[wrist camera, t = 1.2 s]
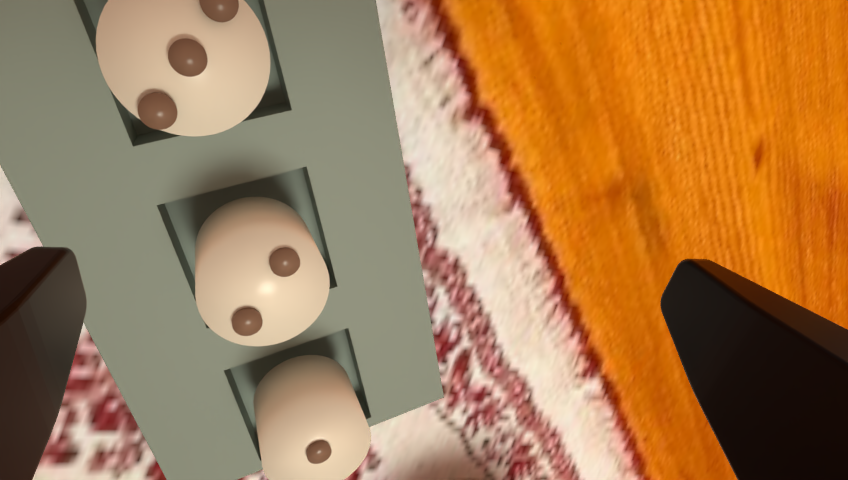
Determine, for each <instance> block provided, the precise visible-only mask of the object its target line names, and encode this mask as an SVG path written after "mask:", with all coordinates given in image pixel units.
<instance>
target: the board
mask: <svg viewBox="0 0 848 480" xmlns="http://www.w3.org/2000/svg"><path fill="white" fill-rule="evenodd" d="M244 1H245V2H246V3H247V4H248V5H249V7H250V8H251V9H252V10H253V12H254V13H255V15H256V17H257V18H258V20H259V21H260V24H261V26H262V28H263V30H264V32H265V35H266V38H267V41H268V46H269V51H270V75H269V80H268V84H267V87H266V90H265V93H264V95H263V97H262V99H261V101H260V102H259V104H258V105H257V107H256V108H255V109H254V110H253V111H252V113H251V114H250V115H249V116H248V117H247V118H245V119H244V120H243V121H242V122H240V123H239V124H237V125H235V126H234V127H232V128H230V129H228V130H225V131H223V132H220V133H217V134H213V135H207V136H181V135H176V134H171V133H168V132H165V131H162V130H157V129H152V128H150V127H148V126H146V125H145V124H144V123H143V122H142V121H141V120H140V119H139V118H137V117H136V116H135V115H133V114H132V113H131V112H130V111H128V110H127V109H126V108H125V107H124V106H123V105H122V104H121V103H120V101H119V100H118V99H117V98H116V97H115V95H114V94H113V92H112V91H111V89H110V88H109V86H108V85H107V83H106V81H105V78H104V76H103V74H102V71H101V68H100V65H99V62H98V57H97V52H96V32H97V26H98V22H99V18H100V15H101V13H102V11H103V8H104V6H105V5H106V3H107V2H108V0H0V165H1V167H2V169H3V171H4V173H5V175H6V177H7V178H8V180H9V182H10V184H11V186H12V188H13V190H14V192H15V194H16V195H17V197H18V199H19V201H20V203H21V205H22V207H23V209H24V211H25V212H26V214H27V216H28V218H29V220H30V222H31V224H32V226H33V228H34V229H35V231H36V233H37V235H38V237H39V239H40V241H41V243H42V245H43V247H67V248H69V249H71V250H72V251H73V252H74V254H75V256H76V259H77V263H78V266H79V270H80V274H81V278H82V282H83V285H84V289H85V293H86V298H87V308H86V314H85V318H84V324H85V326H86V328H87V330H88V332H89V333H90V335H91V337H92V339H93V341H94V343H95V345H96V347H97V349H98V350H99V352H100V354H101V356H102V358H103V360H104V362H105V364H106V366H107V367H108V369H109V371H110V373H111V375H112V377H113V379H114V381H115V383H116V384H117V386H118V388H119V390H120V392H121V394H122V396H123V398H124V400H125V401H126V403H127V405H128V407H129V409H130V411H131V413H132V415H133V417H134V419H135V420H136V422H137V424H138V426H139V428H140V430H141V432H142V434H143V436H144V437H145V439H146V441H147V443H148V445H149V447H150V449H151V451H152V453H153V454H154V456H155V458H156V460H157V462H158V464H159V466H160V468H161V470H162V471H163V473H164V475H165V477H166V479H167V480H237V479H240V478H242V477H245V476H247V475H250V474H252V473H255V472H257V471H260V470H262V469H263V467H262V461H261V454H260V447H259V440H258V434H257V427H256V420H255V413H254V406H253V400H254V394H255V391H256V388H257V386H258V384H259V383H260V381H261V380H262V378H263V377H264V376H265V375H266V374H267V373H268V372H269V371H270V370H271V369H272V368H274V367H275V366H277V365H278V364H280V363H282V362H284V361H286V360H288V359H291V358H294V357H297V356H303V355H320V356H325V357H328V358H330V359H333V360H334V361H336V362H338V363H339V364H340V365H341V366H342V367H343V368H344V369H345V371H346V372H347V374H348V377H349V379H350V381H351V384H352V386H353V389H354V391H355V394H356V396H357V399H358V401H359V404H360V406H361V408H362V411H363V413H364V416H365V418H366V421H367V423H368V426H369V427H371V426H373V425H376V424H378V423H381V422H383V421H386V420H388V419H391V418H393V417H396V416H398V415H401V414H403V413H406V412H408V411H411V410H413V409H416V408H418V407H421V406H423V405H426V404H428V403H431V402H433V401H436V400H439V399H441V398H444V396H443V390H442V384H441V378H440V372H439V367H438V361H437V355H436V349H435V343H434V337H433V332H432V326H431V320H430V314H429V308H428V303H427V297H426V291H425V285H424V279H423V273H422V268H421V262H420V256H419V250H418V244H417V239H416V233H415V227H414V221H413V215H412V209H411V204H410V198H409V192H408V186H407V180H406V175H405V169H404V163H403V157H402V151H401V145H400V140H399V134H398V128H397V122H396V116H395V111H394V105H393V99H392V93H391V87H390V81H389V76H388V70H387V64H386V58H385V52H384V47H383V41H382V35H381V29H380V23H379V18H378V12H377V6H376V0H244ZM245 197H266V198H271V199H275V200H278V201H280V202H282V203H285V204H286V205H288V206H290V207H291V208H292V209H294V210H295V211H296V212H297V213H298V214H299V215H300V216H301V218H302V219H303V220H304V222H305V224H306V225H307V227H308V229H309V231H310V233H311V235H312V237H313V240H314V242H315V244H316V246H317V248H318V250H319V252H320V254H321V256H322V258H323V260H324V262H325V264H326V267H327V269H328V273H329V280H330V287H329V294H328V298H327V301H326V304H325V306H324V308H323V310H322V312H321V313H320V315H319V316H318V318H317V319H316V320H315V321H314V322H313V323H312V324H311V325H310V326H309V327H308V328H307V329H306V330H305V331H303V332H302V333H300V334H299V335H297V336H295V337H293V338H291V339H289V340H287V341H284V342H281V343H278V344H274V345H268V346H246V345H240V344H237V343H233V342H231V341H228V340H226V339H224V338H222V337H221V336H219V335H217V334H216V333H215V332H214V331H212V330H211V329H210V328H209V327H208V326H207V324H206V323H205V322H204V320H203V319H202V317H201V315H200V313H199V311H198V307H197V304H196V297H195V244H196V238H197V235H198V232H199V230H200V228H201V226H202V225H203V223H204V222H205V220H206V219H207V218H208V217H209V216H210V215H211V214H212V213H213V212H214V211H215V210H217V209H218V208H219V207H221V206H223V205H224V204H226V203H229V202H231V201H233V200H236V199H240V198H245Z"/></svg>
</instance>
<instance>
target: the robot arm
mask: <svg viewBox="0 0 848 480" xmlns="http://www.w3.org/2000/svg"><path fill="white" fill-rule="evenodd" d="M86 308H87V298H86V293H85V289H84V285H83V282H82V278H81V274H80V270H79V266H78V263H77V259H76V256H75V254H74V252H73V251H72V250H71V249H69V248H67V247H33V248H31V249H29V250H27V251H25V252H23V253H21V254H20V255H18V256H16V257H14V258H12V259H11V260H9V261H7V262H5V263H3V264H1V265H0V480H32V479H33V476H34V474H35V472H36V469H37V467H38V464H39V462H40V459H41V457H42V454H43V452H44V450H45V447H46V445H47V442H48V440H49V437H50V435H51V432H52V430H53V427H54V424H55V422H56V419H57V416H58V413H59V410H60V406H61V403H62V400H63V396H64V392H65V389H66V385H67V381H68V377H69V374H70V370H71V366H72V363H73V359H74V355H75V351H76V348H77V344H78V340H79V337H80V333H81V329H82V326H83V322H84V318H85V314H86ZM661 310H662V314H663V316H664V319H665V321H666V324H667V326H668V329H669V331H670V334H671V337H672V339H673V342H674V344H675V347H676V349H677V352H678V355H679V357H680V360H681V362H682V365H683V367H684V370H685V372H686V375H687V378H688V380H689V382H690V385H691V387H692V389H693V392H694V394H695V396H696V398H697V400H698V402H699V404H700V406H701V408H702V410H703V412H704V414H705V416H706V418H707V420H708V422H709V424H710V426H711V428H712V430H713V432H714V434H715V436H716V438H717V440H718V442H719V444H720V446H721V448H722V450H723V452H724V453H725V455H726V457H727V459H728V461H729V463H730V465H731V467H732V469H733V471H734V473H735V475H736V477H737V479H738V480H848V330H847V329H845V328H843V327H841V326H839V325H837V324H835V323H833V322H831V321H829V320H827V319H825V318H823V317H821V316H819V315H817V314H815V313H813V312H811V311H810V310H808V309H806V308H804V307H802V306H800V305H798V304H796V303H794V302H792V301H790V300H788V299H786V298H784V297H782V296H780V295H778V294H776V293H774V292H772V291H770V290H768V289H766V288H764V287H762V286H760V285H758V284H756V283H754V282H752V281H750V280H748V279H746V278H744V277H742V276H740V275H738V274H736V273H734V272H732V271H730V270H728V269H726V268H724V267H722V266H721V265H719V264H717V263H715V262H713V261H710V260H707V259H685V260H683V261H681V262H680V263H679V264H678V265H677V267H676V269H675V271H674V273H673V275H672V277H671V279H670V281H669V283H668V285H667V287H666V289H665V290H664V292H663V294H662V297H661Z"/></svg>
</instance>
